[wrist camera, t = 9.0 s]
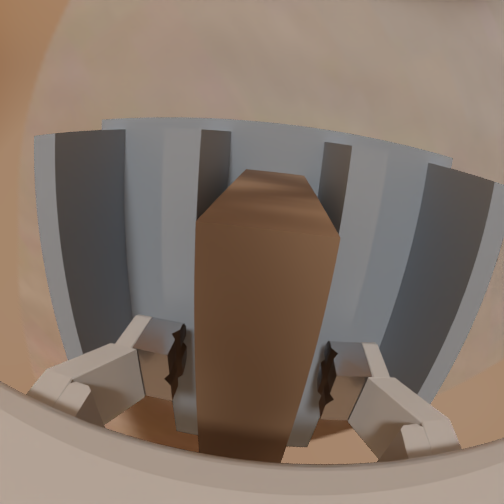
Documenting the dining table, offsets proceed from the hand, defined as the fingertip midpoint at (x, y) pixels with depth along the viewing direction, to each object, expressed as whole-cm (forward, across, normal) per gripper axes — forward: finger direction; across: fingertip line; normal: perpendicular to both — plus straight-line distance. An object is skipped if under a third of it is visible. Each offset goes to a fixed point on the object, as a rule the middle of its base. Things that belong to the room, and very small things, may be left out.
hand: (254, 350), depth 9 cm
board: (+6, 0, 0) cm, 6 cm away
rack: (+7, 0, 0) cm, 7 cm away
